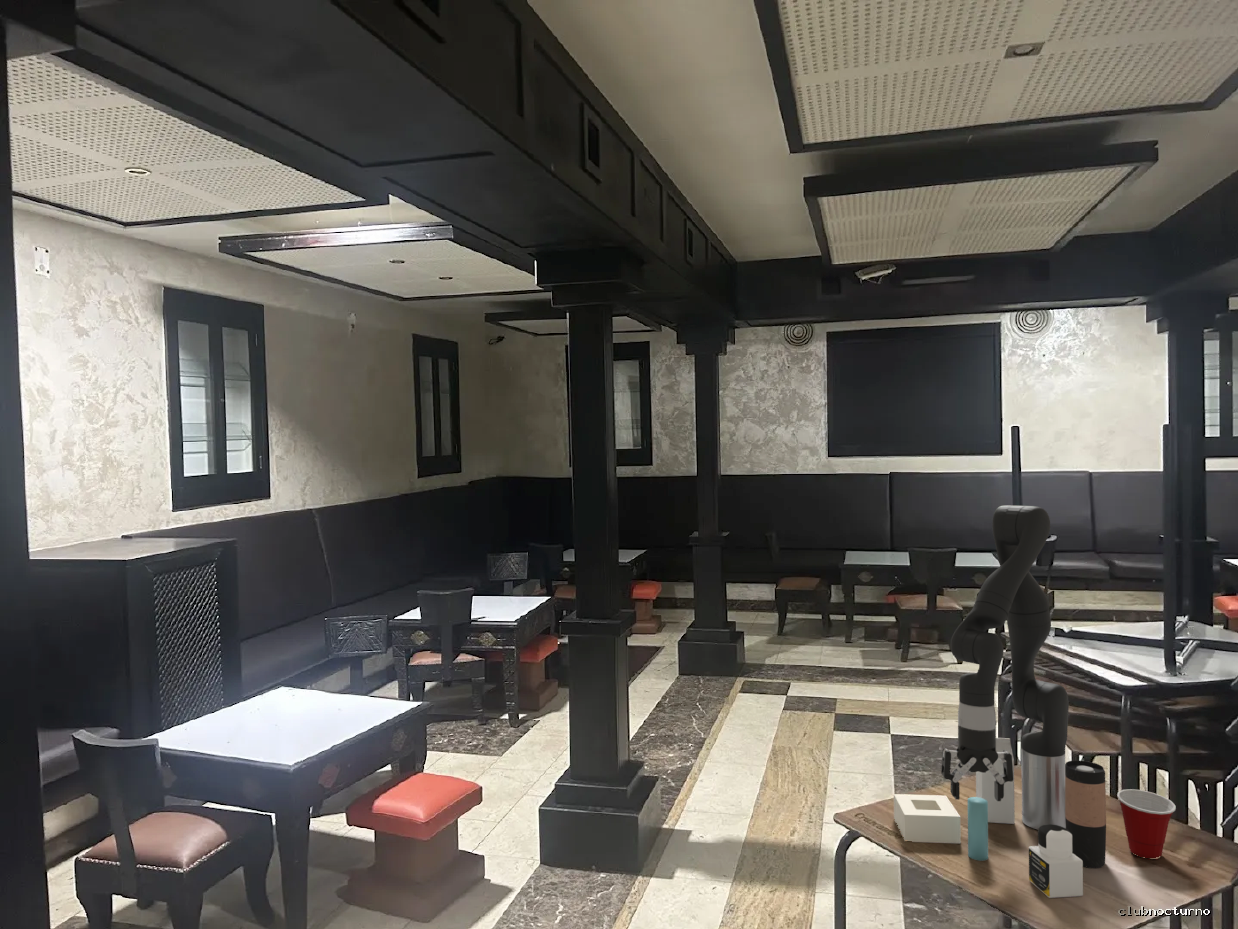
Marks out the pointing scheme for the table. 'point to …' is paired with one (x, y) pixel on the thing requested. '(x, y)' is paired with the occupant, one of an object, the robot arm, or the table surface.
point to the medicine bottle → (1055, 863)
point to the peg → (978, 828)
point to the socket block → (927, 818)
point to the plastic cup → (1145, 821)
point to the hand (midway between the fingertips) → (976, 799)
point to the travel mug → (1086, 811)
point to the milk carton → (985, 789)
